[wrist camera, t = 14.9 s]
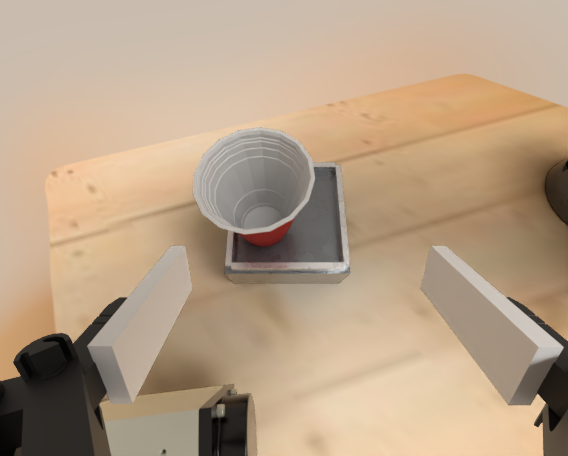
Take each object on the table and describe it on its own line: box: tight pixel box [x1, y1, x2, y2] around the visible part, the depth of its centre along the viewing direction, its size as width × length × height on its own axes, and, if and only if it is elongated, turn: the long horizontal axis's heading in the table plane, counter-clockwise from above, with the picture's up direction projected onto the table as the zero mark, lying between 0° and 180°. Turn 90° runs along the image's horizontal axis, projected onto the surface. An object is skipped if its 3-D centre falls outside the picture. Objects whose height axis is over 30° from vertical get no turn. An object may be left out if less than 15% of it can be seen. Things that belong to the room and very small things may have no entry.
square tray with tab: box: [225, 162, 350, 284], centre depth 38 cm, size 15×17×8 cm
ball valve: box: [99, 384, 257, 456], centre depth 24 cm, size 18×8×18 cm, turn 96°
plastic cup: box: [193, 127, 315, 247], centre depth 29 cm, size 11×11×12 cm
